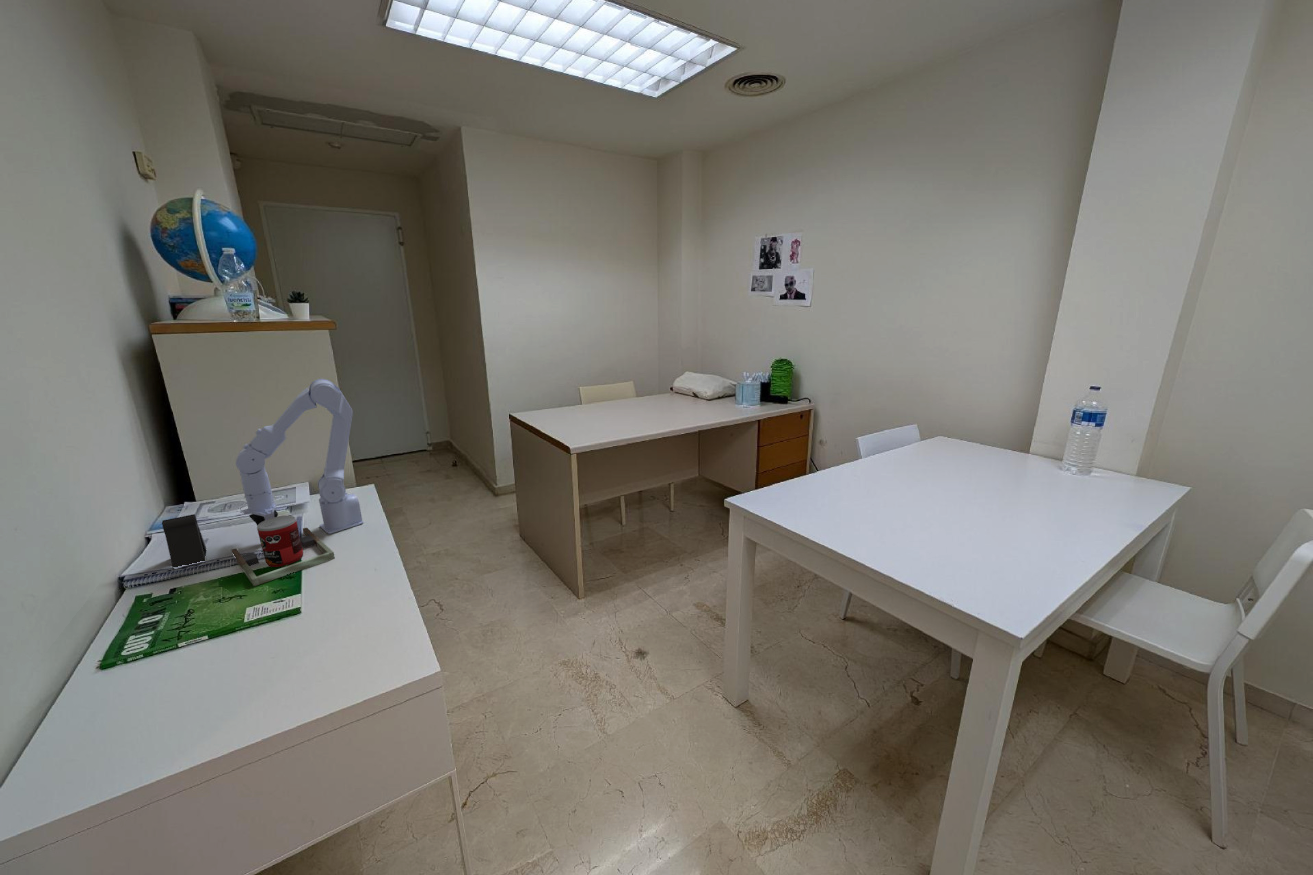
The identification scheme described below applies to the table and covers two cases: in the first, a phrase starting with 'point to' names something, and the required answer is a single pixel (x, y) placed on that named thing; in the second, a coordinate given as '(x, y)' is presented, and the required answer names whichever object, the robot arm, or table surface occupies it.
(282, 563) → the canned food
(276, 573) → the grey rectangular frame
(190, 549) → the phone stand
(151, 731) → the table surface
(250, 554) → the trap blocks
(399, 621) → the table surface
